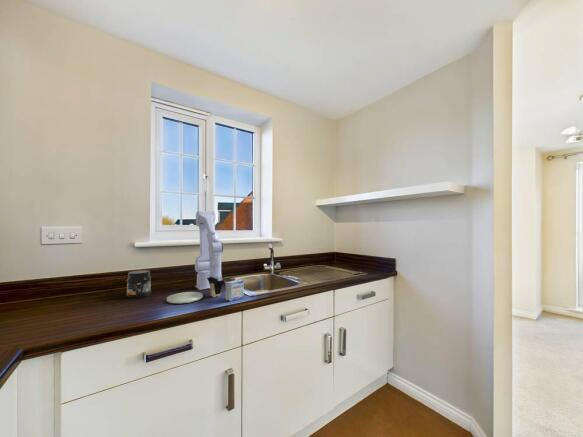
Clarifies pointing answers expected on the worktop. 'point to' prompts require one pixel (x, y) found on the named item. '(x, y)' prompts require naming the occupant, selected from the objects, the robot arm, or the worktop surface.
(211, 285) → the tan rectangular block
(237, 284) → the medicine box
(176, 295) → the sage dish
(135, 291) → the supplement container
